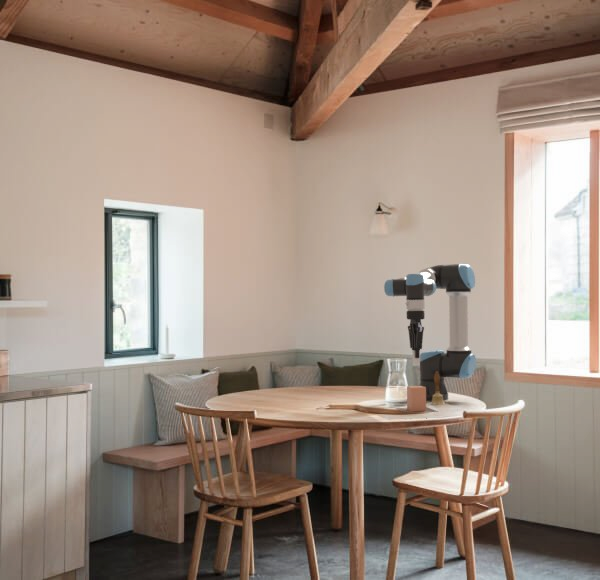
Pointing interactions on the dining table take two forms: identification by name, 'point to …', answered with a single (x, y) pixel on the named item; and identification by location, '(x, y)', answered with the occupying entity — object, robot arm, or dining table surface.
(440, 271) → the robot arm
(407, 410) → the board
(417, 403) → the pink upright block
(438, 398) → the hand bell
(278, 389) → the dining table surface
